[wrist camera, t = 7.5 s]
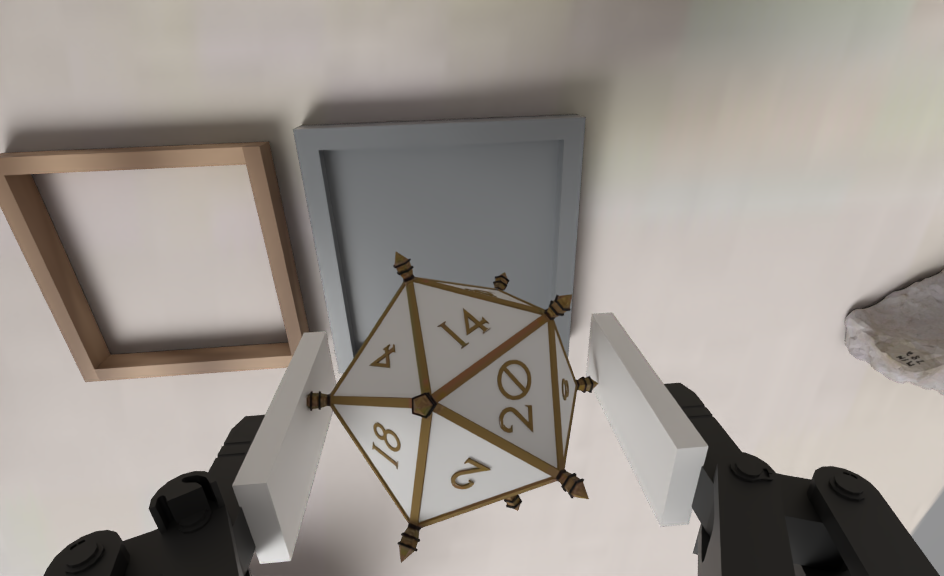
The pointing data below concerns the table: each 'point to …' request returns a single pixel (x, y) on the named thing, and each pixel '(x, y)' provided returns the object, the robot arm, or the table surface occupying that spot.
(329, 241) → the tray
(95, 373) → the corral
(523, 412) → the game die
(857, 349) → the stone
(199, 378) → the table surface
